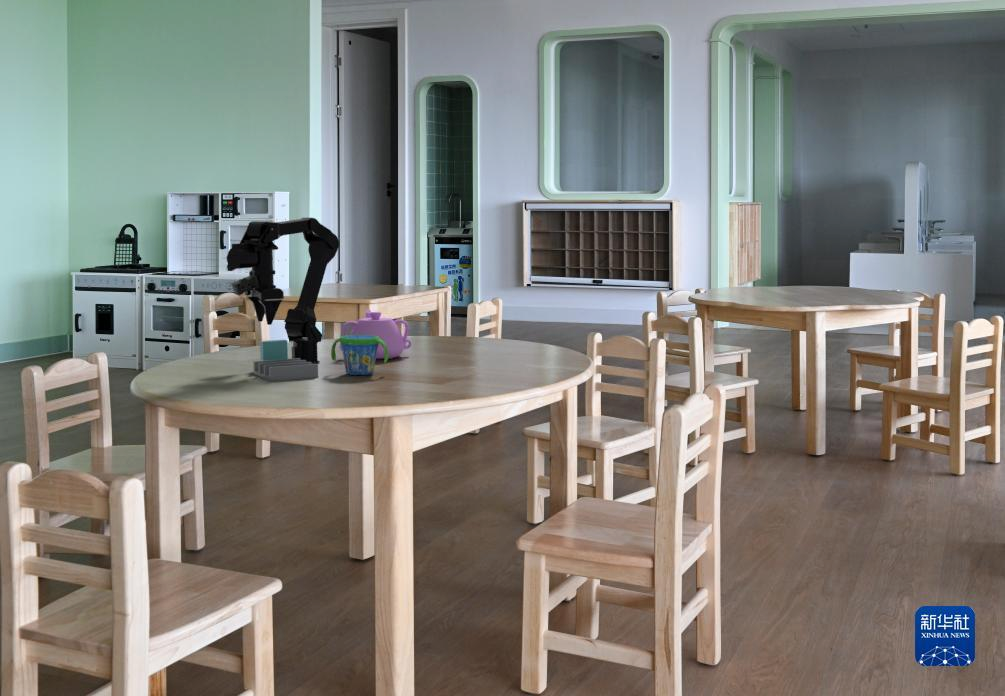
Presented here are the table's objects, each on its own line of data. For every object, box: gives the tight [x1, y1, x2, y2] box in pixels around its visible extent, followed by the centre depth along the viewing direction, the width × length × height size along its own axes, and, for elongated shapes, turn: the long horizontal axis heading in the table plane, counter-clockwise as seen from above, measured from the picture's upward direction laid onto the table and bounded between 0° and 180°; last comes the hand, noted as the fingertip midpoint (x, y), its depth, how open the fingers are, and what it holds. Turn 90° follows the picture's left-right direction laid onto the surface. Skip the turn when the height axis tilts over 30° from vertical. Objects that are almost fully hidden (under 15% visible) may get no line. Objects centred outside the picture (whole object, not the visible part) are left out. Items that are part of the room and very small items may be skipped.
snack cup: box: [330, 334, 389, 376], centre depth 294 cm, size 16×10×10 cm
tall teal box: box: [259, 339, 289, 361], centre depth 304 cm, size 7×2×8 cm, turn 120°
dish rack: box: [252, 358, 319, 382], centre depth 291 cm, size 13×15×4 cm
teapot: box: [339, 309, 413, 360], centre depth 330 cm, size 22×22×14 cm
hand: (264, 323), depth 303 cm, fingers open, 9 cm apart
